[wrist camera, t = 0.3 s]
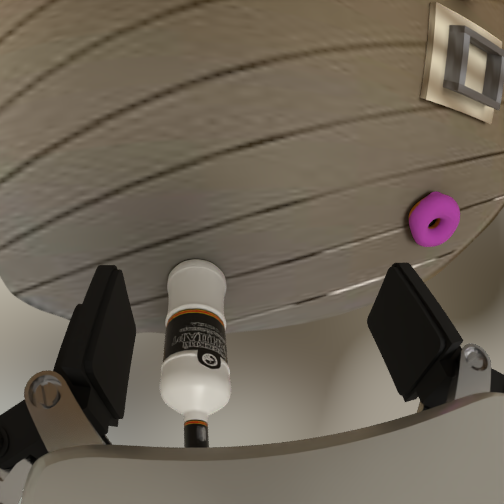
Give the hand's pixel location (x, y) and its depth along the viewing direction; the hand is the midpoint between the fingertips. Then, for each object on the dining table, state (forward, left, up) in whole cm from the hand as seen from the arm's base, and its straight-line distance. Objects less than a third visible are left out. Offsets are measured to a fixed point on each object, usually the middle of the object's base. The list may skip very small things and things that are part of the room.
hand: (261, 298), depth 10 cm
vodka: (+25, -4, -31) cm, 40 cm away
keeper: (-15, +35, -31) cm, 49 cm away
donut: (+12, +35, -31) cm, 48 cm away
